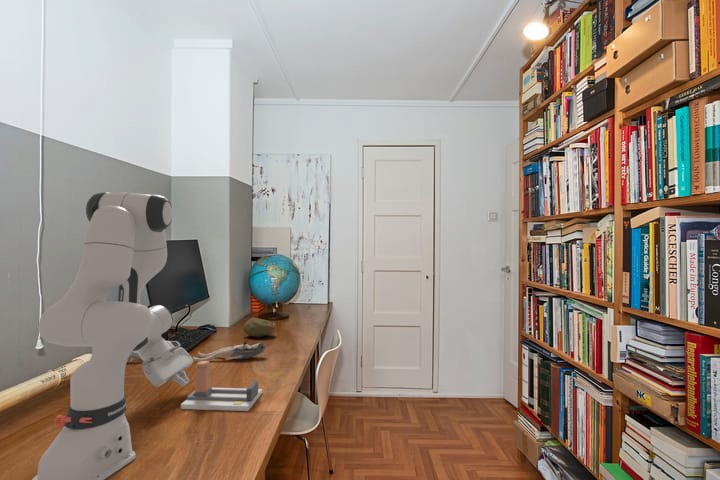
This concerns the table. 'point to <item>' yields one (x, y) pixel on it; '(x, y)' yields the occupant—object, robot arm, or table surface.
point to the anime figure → (234, 352)
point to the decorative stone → (258, 327)
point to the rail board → (225, 399)
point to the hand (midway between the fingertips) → (186, 383)
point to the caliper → (134, 356)
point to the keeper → (203, 379)
